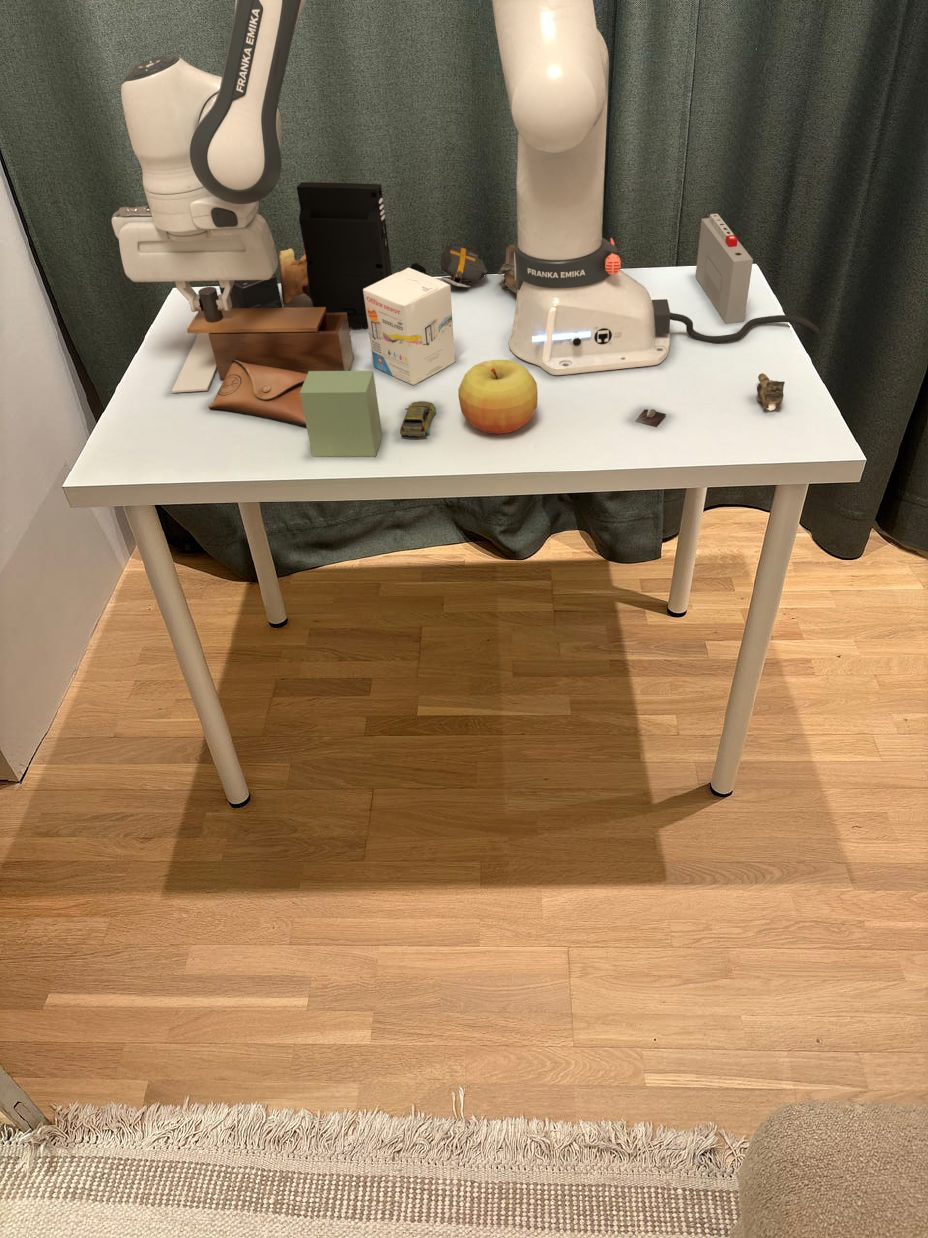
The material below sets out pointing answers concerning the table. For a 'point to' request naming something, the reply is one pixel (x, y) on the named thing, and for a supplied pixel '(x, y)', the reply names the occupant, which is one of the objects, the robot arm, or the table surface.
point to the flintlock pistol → (508, 270)
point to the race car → (417, 420)
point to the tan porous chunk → (293, 275)
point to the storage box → (288, 348)
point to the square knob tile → (650, 417)
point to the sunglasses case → (262, 392)
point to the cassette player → (723, 269)
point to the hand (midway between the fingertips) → (212, 309)
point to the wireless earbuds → (418, 268)
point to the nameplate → (197, 367)
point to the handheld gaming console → (343, 244)
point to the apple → (498, 396)
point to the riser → (341, 413)
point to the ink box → (410, 325)
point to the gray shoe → (462, 266)
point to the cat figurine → (770, 392)
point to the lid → (253, 318)
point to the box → (255, 294)
